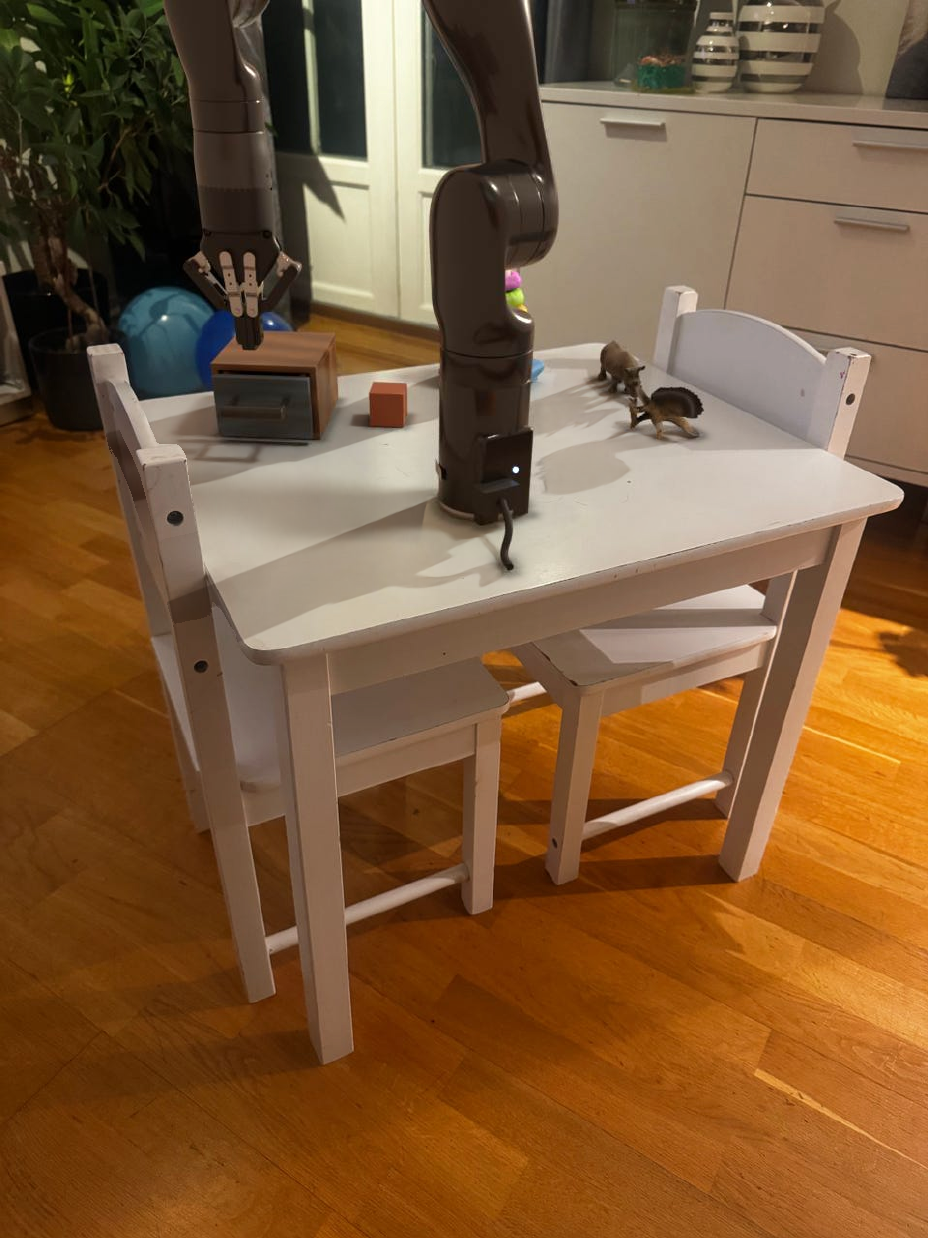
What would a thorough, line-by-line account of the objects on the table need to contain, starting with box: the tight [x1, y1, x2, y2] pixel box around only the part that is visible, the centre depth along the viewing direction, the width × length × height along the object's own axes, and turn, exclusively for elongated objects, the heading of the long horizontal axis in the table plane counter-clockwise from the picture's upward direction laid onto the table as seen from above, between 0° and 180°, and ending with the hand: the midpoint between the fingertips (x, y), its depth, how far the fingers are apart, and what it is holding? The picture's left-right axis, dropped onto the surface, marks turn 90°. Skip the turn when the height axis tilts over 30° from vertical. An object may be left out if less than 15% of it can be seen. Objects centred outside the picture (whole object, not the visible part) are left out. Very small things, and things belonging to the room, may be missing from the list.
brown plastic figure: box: [628, 386, 705, 440], centre depth 117 cm, size 8×7×9 cm
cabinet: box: [210, 330, 340, 440], centre depth 117 cm, size 15×13×9 cm
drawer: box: [211, 370, 314, 440], centre depth 113 cm, size 19×11×7 cm, turn 178°
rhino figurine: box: [597, 340, 646, 399], centre depth 130 cm, size 4×14×6 cm, turn 10°
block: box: [368, 381, 408, 428], centre depth 118 cm, size 4×4×4 cm
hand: (251, 348), depth 103 cm, fingers closed
